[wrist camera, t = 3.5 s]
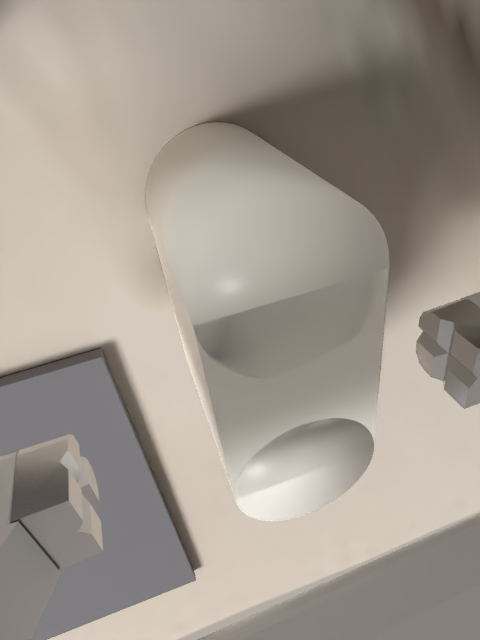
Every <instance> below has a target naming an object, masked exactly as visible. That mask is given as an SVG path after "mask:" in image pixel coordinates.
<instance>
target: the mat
mask: <svg viewBox="0 0 480 640" xmlns="http://www.w3.org/2000/svg"><path fill="white" fill-rule="evenodd" d="M68 434H71V435H73V436H74V437H75V439H76V440H77V442H78V444H79V449H80V456H82V457H85V458H87V459H88V461H89V463H90V465H91V467H92V469H93V472H94V474H95V478H96V482H97V487H98V493H99V503H98V505H97V507H96V508H95V512H96V514H97V515H98V517H99V519H100V520H101V528H102V541H103V552H101V553H99V554H96V555H94V556H92V557H89V558H87V559H85V560H82V561H80V562H78V563H75V564H73V565H70V566H68V567H66V568H63V569H61V570H59V571H60V572H61V573H60V576H59V578H58V580H57V583H56V585H55V587H54V589H53V592H52V594H51V596H50V598H49V601H48V603H47V605H46V608H45V610H44V612H43V614H42V617H41V619H40V621H39V623H38V626H37V628H36V630H35V633H34V635H33V637H32V639H31V640H47V639H49V638H52V637H55V636H57V635H60V634H62V633H65V632H67V631H70V630H72V629H75V628H77V627H80V626H82V625H85V624H87V623H90V622H92V621H95V620H97V619H100V618H102V617H105V616H107V615H110V614H112V613H115V612H117V611H120V610H122V609H125V608H127V607H130V606H132V605H135V604H138V603H140V602H143V601H145V600H148V599H150V598H153V597H155V596H158V595H160V594H163V593H165V592H168V591H170V590H173V589H175V588H178V587H180V586H183V585H185V584H188V583H190V582H193V581H195V580H196V578H195V573H194V570H193V568H192V565H191V563H190V561H189V558H188V556H187V553H186V551H185V549H184V546H183V544H182V541H181V539H180V537H179V534H178V532H177V529H176V527H175V525H174V522H173V520H172V517H171V515H170V513H169V510H168V508H167V506H166V503H165V501H164V498H163V496H162V494H161V491H160V489H159V486H158V484H157V482H156V479H155V477H154V474H153V472H152V470H151V467H150V465H149V462H148V460H147V458H146V455H145V453H144V450H143V448H142V446H141V443H140V441H139V439H138V436H137V434H136V431H135V429H134V427H133V424H132V422H131V419H130V417H129V415H128V412H127V410H126V407H125V405H124V403H123V400H122V398H121V395H120V393H119V391H118V388H117V386H116V383H115V381H114V379H113V376H112V374H111V372H110V369H109V367H108V364H107V362H106V360H105V357H104V355H103V352H102V350H101V348H100V349H97V350H94V351H90V352H87V353H83V354H80V355H77V356H73V357H70V358H66V359H63V360H59V361H56V362H53V363H49V364H46V365H42V366H39V367H36V368H32V369H29V370H25V371H22V372H19V373H15V374H12V375H8V376H5V377H2V378H0V457H1V456H4V455H8V454H11V453H14V452H17V451H19V450H21V449H25V448H28V447H31V446H34V445H37V444H40V443H43V442H47V441H50V440H53V439H56V438H59V437H62V436H65V435H68Z"/></svg>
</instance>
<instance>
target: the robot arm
mask: <svg viewBox="0 0 480 640" xmlns="http://www.w3.org/2000/svg"><path fill="white" fill-rule="evenodd" d="M419 327H420V328H421V329H422V331H423V333H422V334H421V335H420V337H419V338H418V340H417V344H416V354H417V357H418V360H419V363H420V364H421V366H422V367H423V369H424V370H425V371H426V372H427V373H428V374H429V375H430V376H431V377H433V378H436V379H439V380H442V381H443V384H444V390H445V391H446V392H447V393H448V394H449V395H450V396H451V397H452V398H453V399H455V400H456V401H457V402H458V403H459V404H460V405H461V406H462V407H463V408H464V409H465V408H468V407H470V406H473V405H476V404H479V403H480V292H478V293H475V294H472V295H470V296H467V297H464V298H461V299H460V300H456V301H453V302H450V303H447V304H445V305H442V306H439V307H436V308H433V309H431V310H428V311H425V312H423V313H422V315H421V317H420V320H419ZM98 503H99V493H98V487H97V482H96V478H95V474H94V472H93V469H92V467H91V465H90V463H89V461H88V459H87V458H85V457H82V456H80V449H79V444H78V442H77V440H76V439H75V437H74V436H73V435H71V434H68V435H65V436H62V437H59V438H56V439H53V440H50V441H47V442H43V443H40V444H37V445H34V446H31V447H28V448H25V449H21V450H19V451H17V452H14V453H11V454H8V455H4V456H1V457H0V640H31V639H32V637H33V635H34V633H35V630H36V628H37V626H38V623H39V621H40V619H41V617H42V614H43V612H44V610H45V608H46V605H47V603H48V601H49V598H50V596H51V594H52V592H53V589H54V587H55V585H56V583H57V580H58V578H59V576H60V573H61V572H60V571H59V570H61V569H63V568H66V567H68V566H70V565H73V564H75V563H78V562H80V561H82V560H85V559H87V558H89V557H92V556H94V555H96V554H99V553H101V552H103V541H102V528H101V520H100V519H99V517H98V515H97V514H96V512H95V508H96V507H97V505H98ZM198 640H480V513H479V514H477V515H475V516H473V517H470V518H468V519H466V520H464V521H462V522H459V523H457V524H455V525H452V526H450V527H448V528H446V529H444V530H441V531H439V532H437V533H435V534H432V535H430V536H428V537H426V538H423V539H421V540H419V541H417V542H414V543H412V544H410V545H408V546H406V547H403V548H401V549H399V550H397V551H394V552H392V553H390V554H388V555H386V556H383V557H381V558H379V559H377V560H374V561H373V562H370V563H368V564H366V565H363V566H361V567H359V568H356V569H354V570H352V571H350V572H347V573H345V574H343V575H341V576H339V577H336V578H334V579H332V580H330V581H327V582H325V583H323V584H321V585H318V586H316V587H314V588H312V589H309V590H307V591H305V592H303V593H300V594H299V595H296V596H294V597H292V598H290V599H287V600H285V601H283V602H281V603H278V604H276V605H274V606H271V607H269V608H267V609H265V610H263V611H260V612H258V613H256V614H254V615H251V616H249V617H247V618H245V619H243V620H240V621H238V622H236V623H234V624H231V625H229V626H227V627H225V628H222V629H220V630H218V631H216V632H213V633H212V634H209V635H207V636H205V637H202V638H200V639H198Z"/></svg>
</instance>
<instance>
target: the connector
mask: <svg viewBox="0 0 480 640" xmlns="http://www.w3.org/2000/svg"><path fill="white" fill-rule="evenodd" d="M145 204H146V209H147V214H148V218H149V222H150V225H151V229H152V233H153V236H154V240H155V244H156V248H157V251H158V255H159V259H160V262H161V266H162V270H163V273H164V277H165V281H166V285H167V288H168V292H169V296H170V299H171V303H172V307H173V311H174V314H175V318H176V322H177V325H178V329H179V333H180V336H181V340H182V344H183V348H184V351H185V355H186V359H187V362H188V365H189V368H190V371H191V374H192V377H193V380H194V383H195V386H196V388H197V391H198V394H199V397H200V400H201V403H202V406H203V409H204V411H205V414H206V417H207V420H208V423H209V426H210V429H211V432H212V434H213V437H214V440H215V443H216V446H217V449H218V452H219V455H220V457H221V460H222V463H223V466H224V469H225V472H226V475H227V478H228V480H229V483H230V486H231V489H232V492H233V495H234V498H235V501H236V503H237V506H238V507H239V509H240V510H241V511H242V512H243V513H244V514H246V515H248V516H249V517H252V518H254V519H258V520H263V521H281V520H288V519H293V518H296V517H300V516H303V515H306V514H309V513H311V512H314V511H316V510H318V509H320V508H322V507H324V506H326V505H327V504H329V503H331V502H333V501H334V500H335V499H337V498H338V497H340V496H341V495H342V494H344V493H345V492H346V491H347V490H348V489H350V488H351V487H352V486H353V485H354V484H355V483H356V482H357V481H358V479H359V478H360V477H361V476H362V474H363V473H364V472H365V470H366V469H367V467H368V465H369V463H370V461H371V458H372V455H373V450H374V441H375V429H376V417H377V406H378V394H379V382H380V370H381V359H382V347H383V335H384V323H385V312H386V300H387V288H388V277H389V249H388V243H387V240H386V236H385V233H384V231H383V229H382V227H381V225H380V223H379V222H378V221H377V219H376V218H375V216H374V215H373V214H372V213H371V212H370V211H369V210H368V209H367V208H366V207H365V206H363V205H362V204H360V203H359V202H357V201H356V200H354V199H353V198H351V197H350V196H348V195H347V194H345V193H344V192H342V191H341V190H339V189H338V188H336V187H335V186H333V185H331V184H330V183H328V182H327V181H325V180H324V179H322V178H321V177H319V176H318V175H316V174H315V173H313V172H312V171H310V170H308V169H307V168H305V167H304V166H302V165H301V164H299V163H298V162H296V161H295V160H293V159H292V158H290V157H289V156H287V155H286V154H284V153H282V152H281V151H279V150H278V149H276V148H275V147H273V146H272V145H270V144H269V143H267V142H266V141H264V140H263V139H261V138H259V137H258V136H256V135H255V134H253V133H252V132H250V131H249V130H247V129H245V128H243V127H241V126H237V125H234V124H230V123H224V122H210V123H203V124H200V125H196V126H193V127H191V128H189V129H186V130H184V131H183V132H181V133H179V134H178V135H176V136H175V137H174V138H173V139H171V140H170V141H169V142H168V143H167V144H166V145H165V146H164V147H163V148H162V150H161V151H160V152H159V154H158V155H157V157H156V158H155V160H154V162H153V164H152V166H151V168H150V171H149V174H148V177H147V182H146V188H145Z"/></svg>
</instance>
